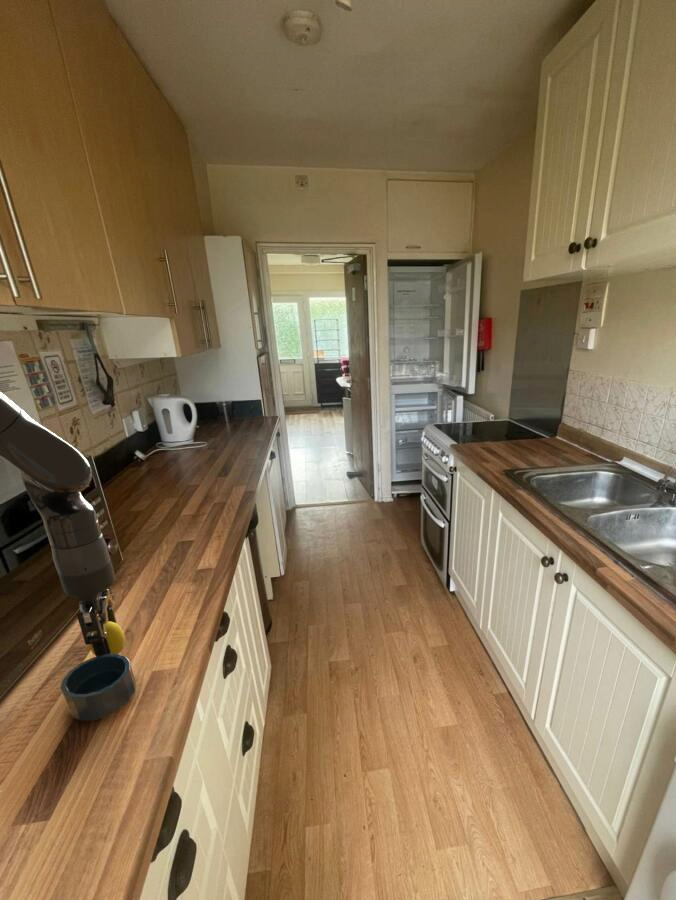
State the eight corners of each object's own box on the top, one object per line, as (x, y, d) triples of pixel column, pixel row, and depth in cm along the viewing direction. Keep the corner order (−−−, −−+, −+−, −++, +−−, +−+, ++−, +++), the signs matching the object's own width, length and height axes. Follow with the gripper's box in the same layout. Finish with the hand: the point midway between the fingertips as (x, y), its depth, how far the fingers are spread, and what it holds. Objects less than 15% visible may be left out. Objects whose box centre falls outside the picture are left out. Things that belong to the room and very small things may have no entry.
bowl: (56, 724, 66) (46, 698, 64) (91, 678, 75) (83, 654, 73) (118, 722, 67) (110, 696, 65) (146, 677, 76) (140, 653, 73)
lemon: (87, 665, 78) (75, 630, 75) (110, 645, 83) (100, 611, 80) (114, 670, 77) (103, 634, 74) (135, 649, 82) (126, 615, 79)
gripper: (104, 579, 67) (126, 659, 74) (114, 540, 79) (133, 612, 85) (46, 589, 64) (75, 672, 71) (66, 548, 76) (89, 622, 83)
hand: (107, 639), depth 78 cm, fingers open, 8 cm apart
